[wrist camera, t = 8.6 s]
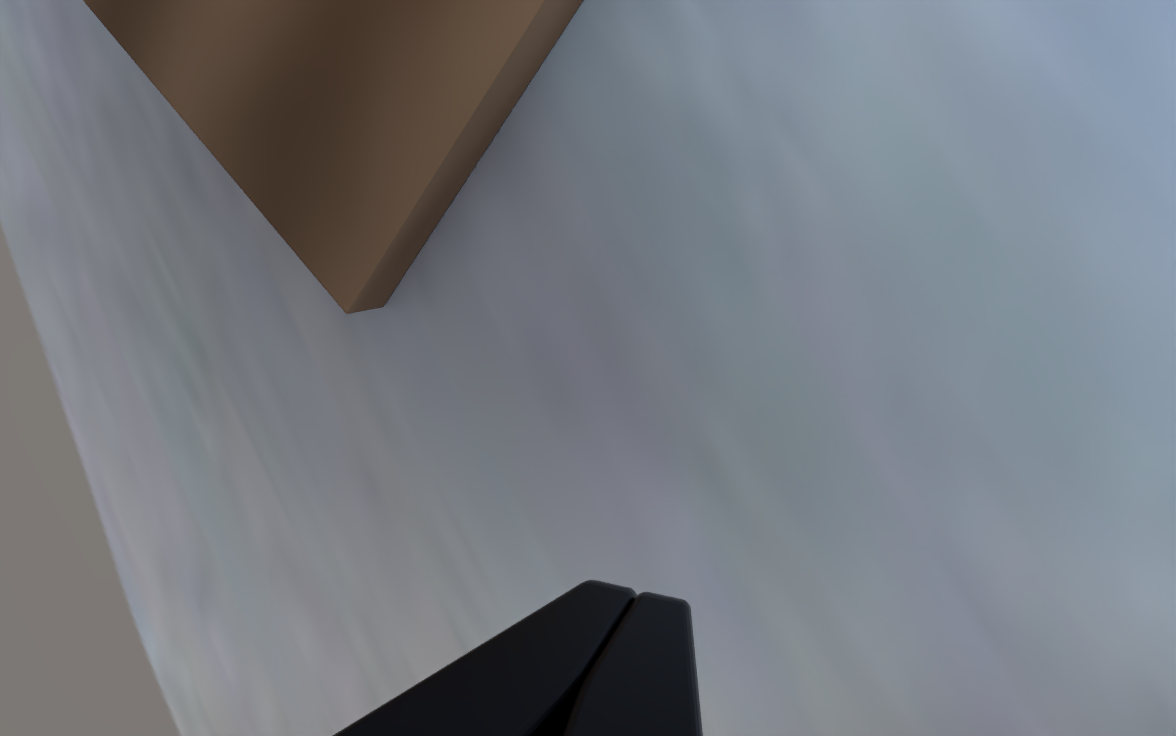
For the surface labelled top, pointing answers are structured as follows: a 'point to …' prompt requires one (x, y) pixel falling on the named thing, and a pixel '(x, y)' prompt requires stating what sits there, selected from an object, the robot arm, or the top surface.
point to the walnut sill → (343, 110)
